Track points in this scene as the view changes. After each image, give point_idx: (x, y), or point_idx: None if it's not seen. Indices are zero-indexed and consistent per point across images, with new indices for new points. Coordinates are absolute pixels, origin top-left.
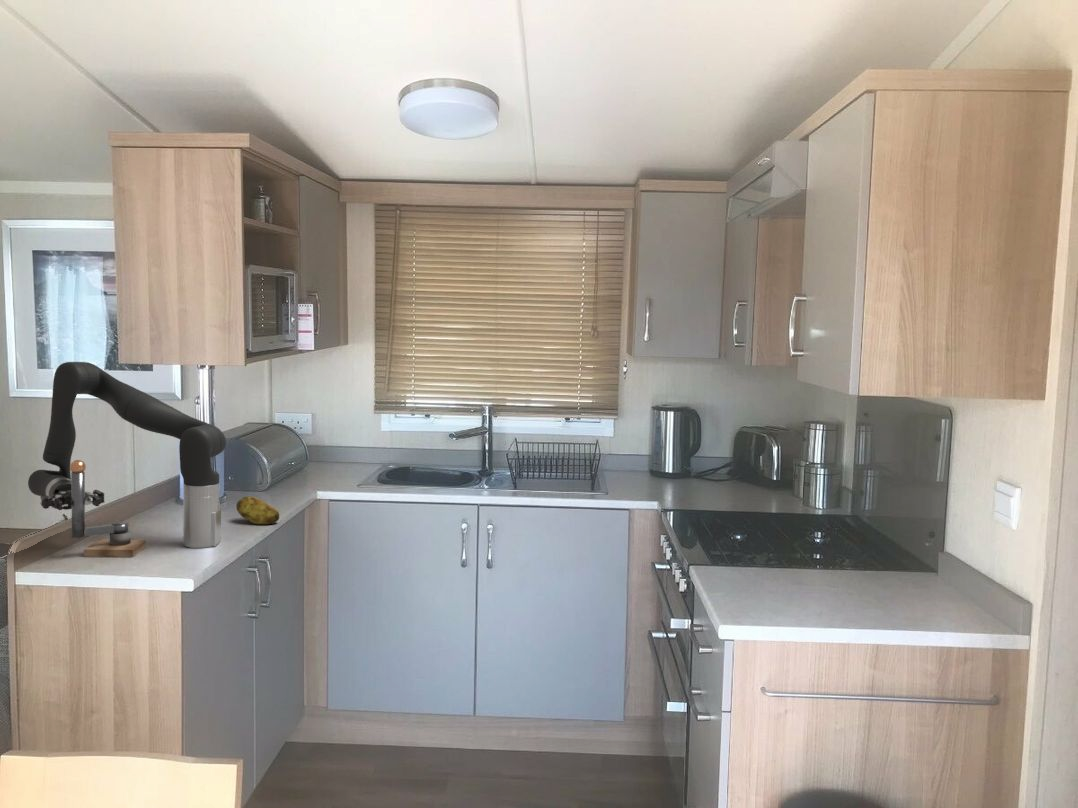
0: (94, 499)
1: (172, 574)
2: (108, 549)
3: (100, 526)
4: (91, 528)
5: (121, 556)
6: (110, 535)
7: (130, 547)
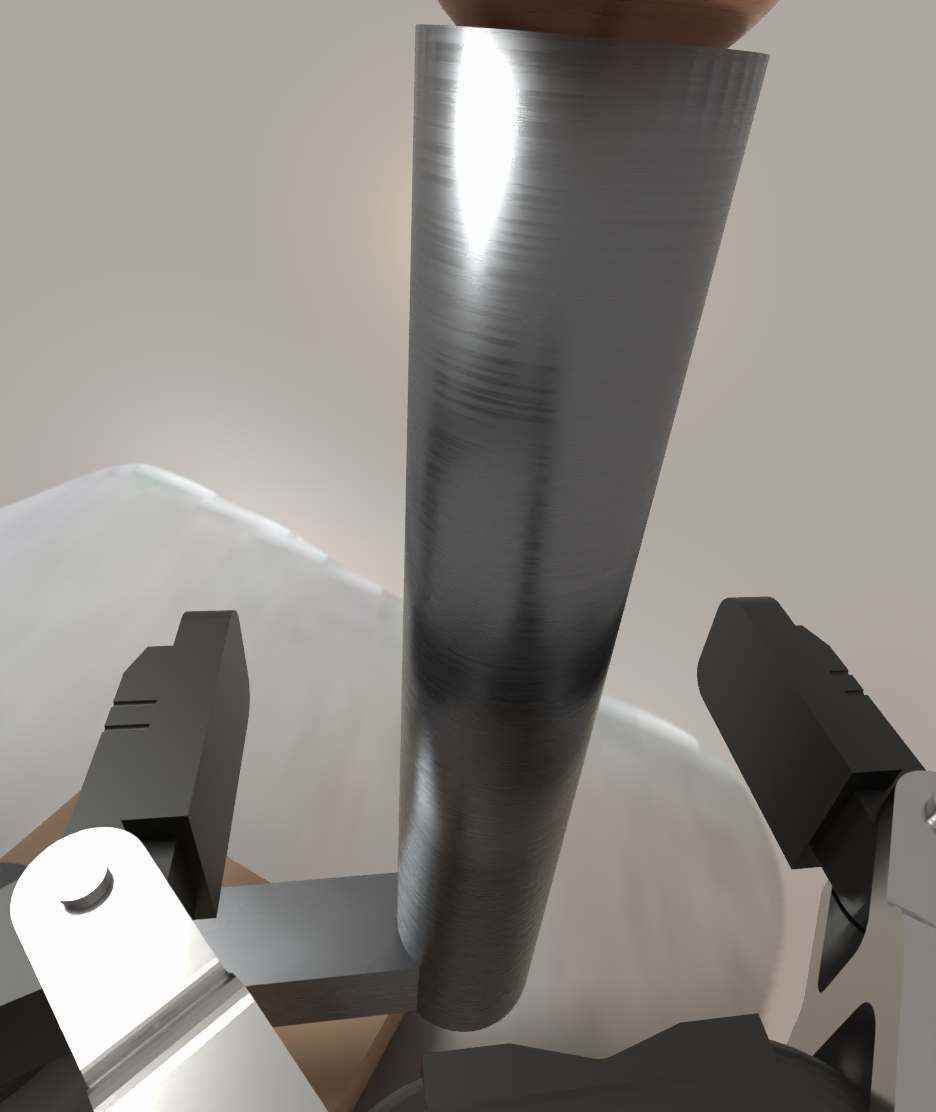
0: (223, 710)
1: (144, 505)
2: (237, 866)
3: (217, 918)
4: (333, 881)
5: None
6: None
7: None
